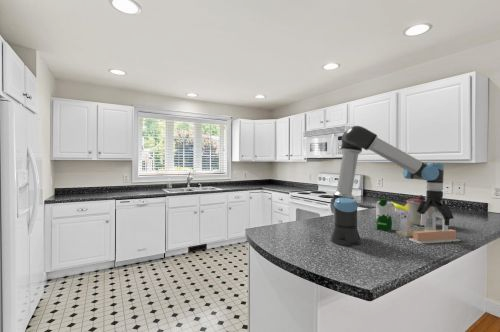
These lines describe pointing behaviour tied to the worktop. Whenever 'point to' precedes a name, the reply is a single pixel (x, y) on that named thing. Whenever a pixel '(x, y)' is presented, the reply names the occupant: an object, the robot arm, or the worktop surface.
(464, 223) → the worktop surface
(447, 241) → the mat
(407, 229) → the hook stand
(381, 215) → the milk carton
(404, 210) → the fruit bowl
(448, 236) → the rail
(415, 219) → the canister
